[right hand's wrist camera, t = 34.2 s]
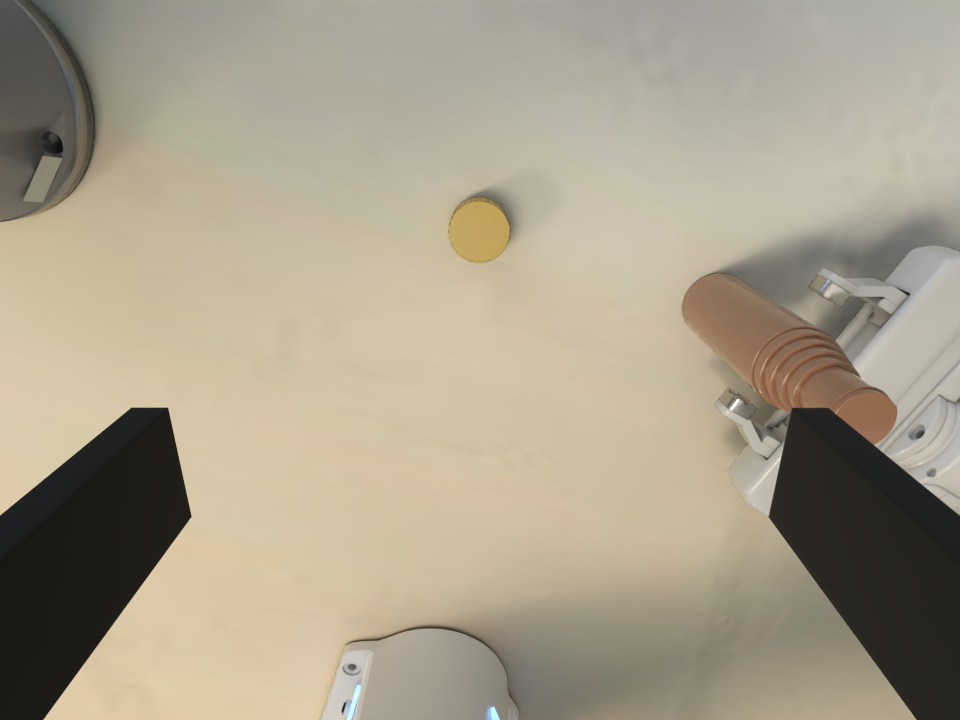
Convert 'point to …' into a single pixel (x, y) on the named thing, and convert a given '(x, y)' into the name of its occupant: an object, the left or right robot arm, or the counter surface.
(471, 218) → the cap
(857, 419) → the bottle
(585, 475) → the counter surface
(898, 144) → the counter surface
